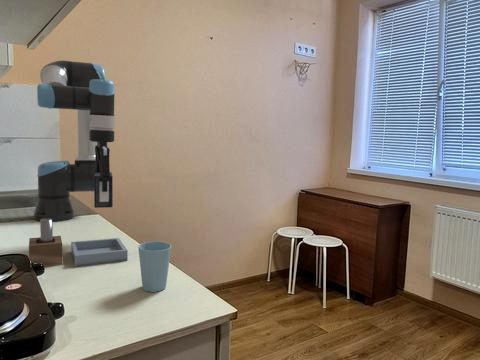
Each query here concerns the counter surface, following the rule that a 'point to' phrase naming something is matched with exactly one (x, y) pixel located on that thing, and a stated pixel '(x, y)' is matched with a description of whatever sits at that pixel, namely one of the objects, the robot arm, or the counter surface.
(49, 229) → the pin gauge
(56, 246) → the wooden slotted block
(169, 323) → the counter surface
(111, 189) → the box
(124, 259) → the tray
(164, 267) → the cup
